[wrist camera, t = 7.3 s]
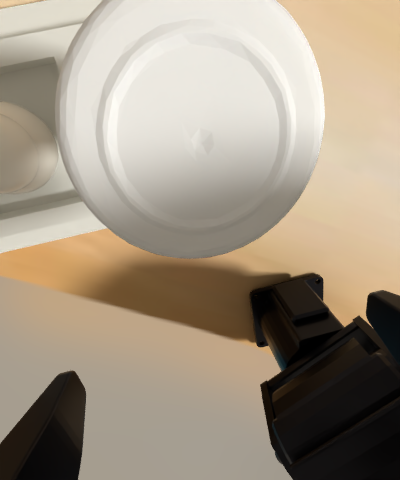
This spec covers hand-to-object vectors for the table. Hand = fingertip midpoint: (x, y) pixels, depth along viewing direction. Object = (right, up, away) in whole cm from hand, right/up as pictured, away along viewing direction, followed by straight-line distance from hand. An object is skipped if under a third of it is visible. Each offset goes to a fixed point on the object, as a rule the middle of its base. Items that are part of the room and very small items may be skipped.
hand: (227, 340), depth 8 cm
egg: (-11, +8, +8) cm, 16 cm away
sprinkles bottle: (-3, +10, +8) cm, 14 cm away
